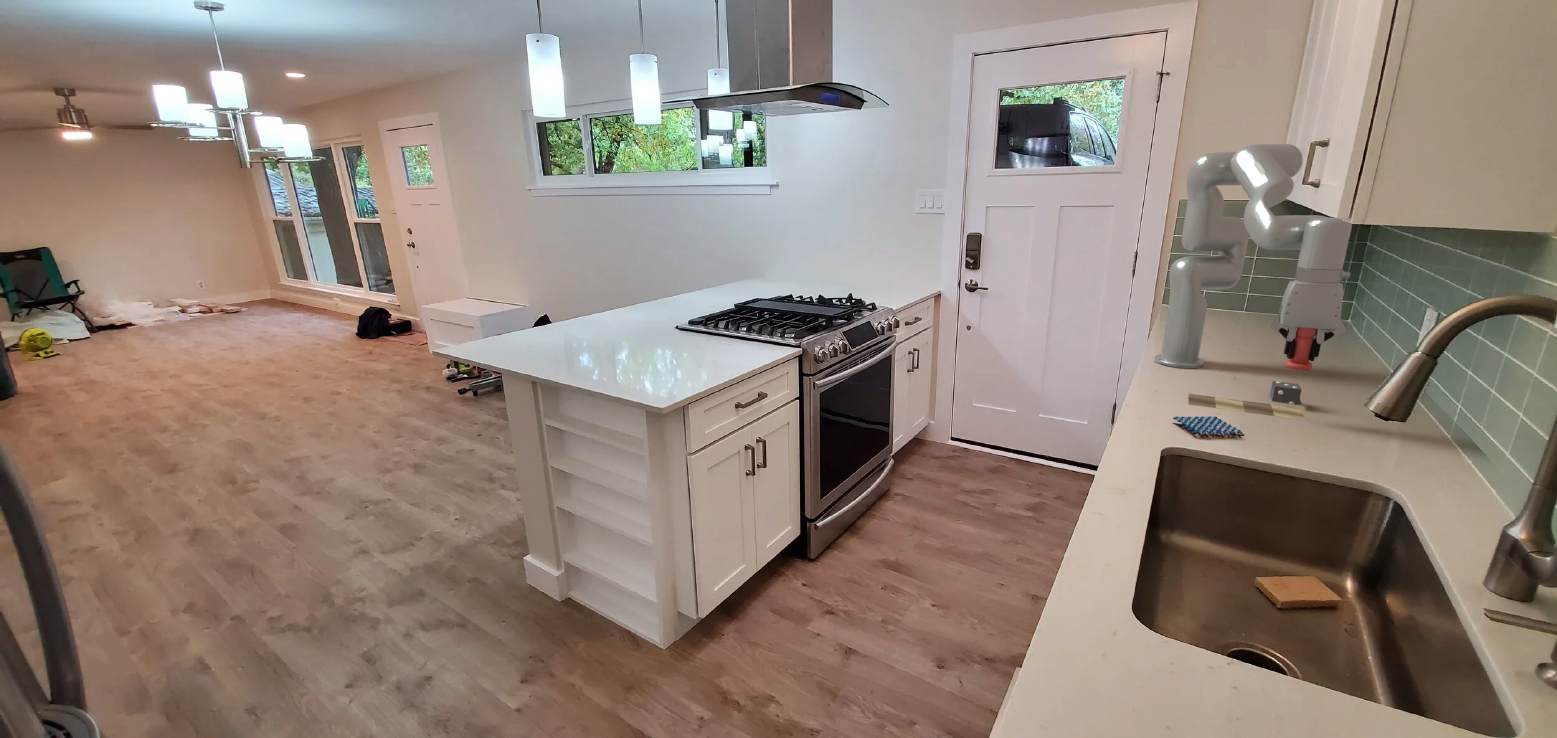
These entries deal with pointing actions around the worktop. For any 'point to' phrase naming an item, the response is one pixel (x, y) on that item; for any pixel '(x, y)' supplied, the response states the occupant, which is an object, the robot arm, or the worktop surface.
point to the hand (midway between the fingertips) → (1300, 358)
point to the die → (1285, 392)
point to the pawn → (1302, 349)
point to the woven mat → (1207, 427)
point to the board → (1246, 406)
